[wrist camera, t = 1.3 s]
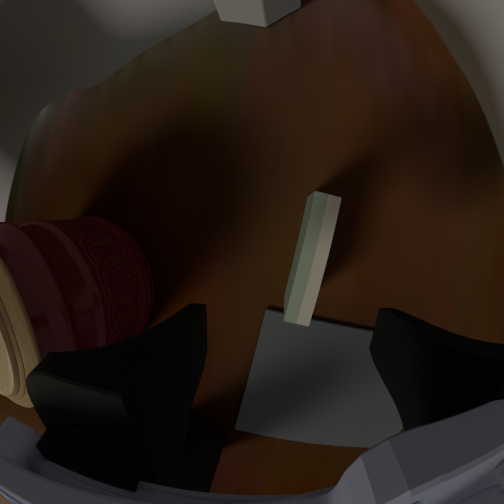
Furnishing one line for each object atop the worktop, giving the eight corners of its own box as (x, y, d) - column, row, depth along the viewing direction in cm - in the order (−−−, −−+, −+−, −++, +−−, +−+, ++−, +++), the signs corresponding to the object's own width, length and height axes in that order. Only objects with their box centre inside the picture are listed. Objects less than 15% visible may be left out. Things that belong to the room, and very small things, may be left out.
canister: (113, 188, 24) (-60, 177, 6) (185, 309, 24) (48, 439, 7) (44, 259, 26) (-83, 293, 8) (100, 358, 26) (-8, 446, 9)
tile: (327, 201, 22) (341, 197, 16) (303, 298, 23) (308, 326, 17) (307, 197, 22) (314, 190, 16) (284, 294, 23) (283, 320, 17)
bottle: (237, 435, 26) (190, 596, 6) (205, 459, 27) (152, 590, 7) (184, 401, 26) (94, 556, 6) (157, 429, 27) (78, 554, 7)
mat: (444, 341, 22) (446, 343, 21) (388, 445, 24) (389, 447, 23) (266, 308, 23) (265, 309, 23) (235, 426, 25) (234, 429, 25)
